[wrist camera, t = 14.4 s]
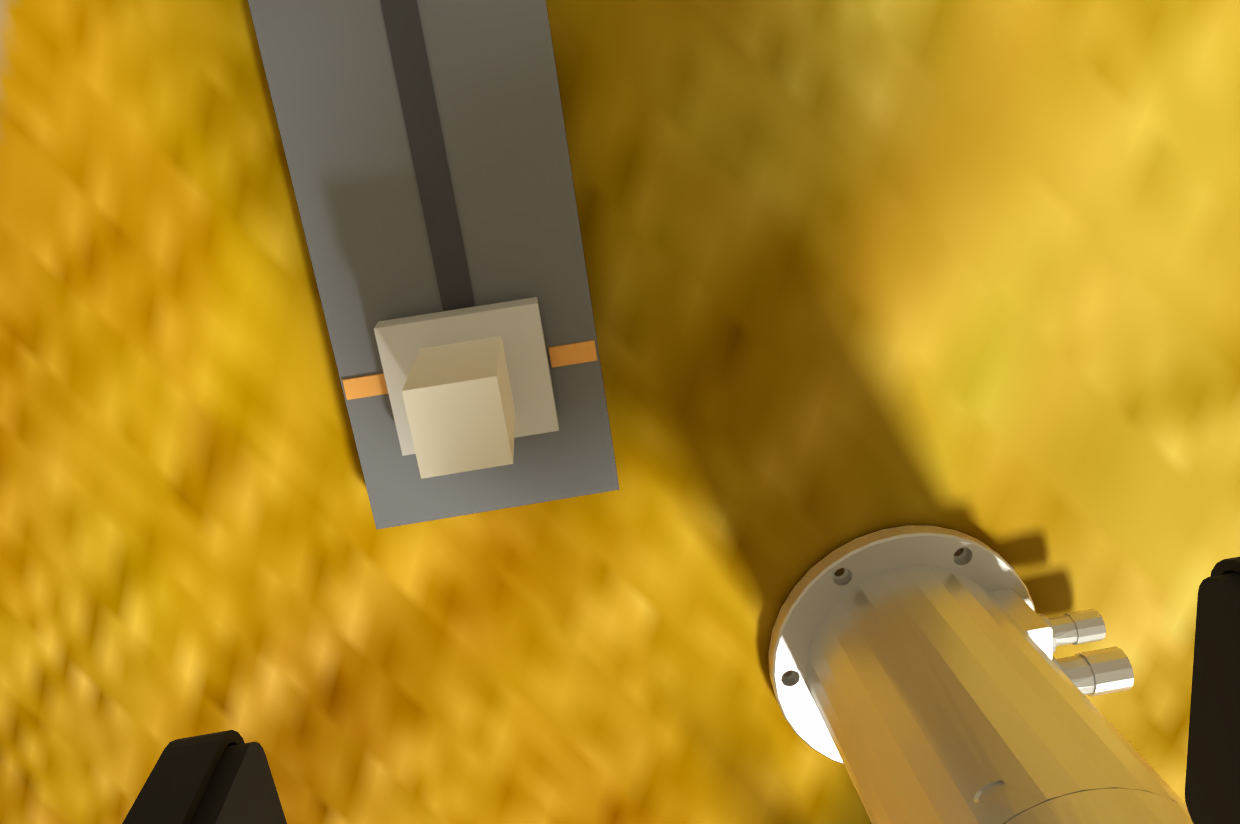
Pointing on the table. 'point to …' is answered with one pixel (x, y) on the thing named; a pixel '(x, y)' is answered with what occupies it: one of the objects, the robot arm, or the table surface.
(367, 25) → the rail board
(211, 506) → the table surface
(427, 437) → the fader tab
